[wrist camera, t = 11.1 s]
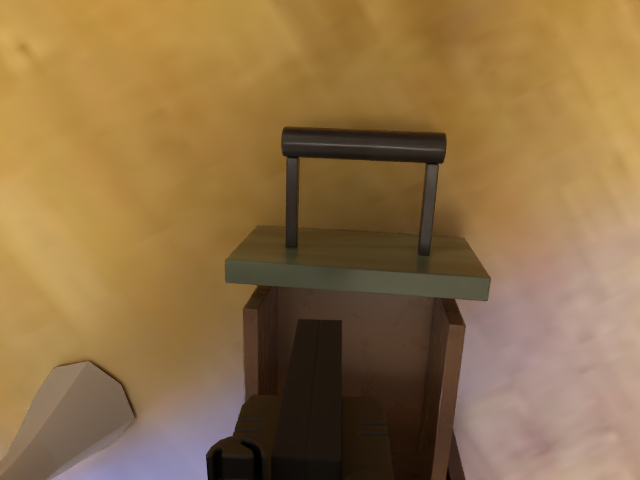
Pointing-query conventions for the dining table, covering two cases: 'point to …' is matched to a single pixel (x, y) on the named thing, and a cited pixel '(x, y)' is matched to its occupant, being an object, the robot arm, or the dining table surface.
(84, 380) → the flask
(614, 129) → the dining table surface
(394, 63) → the dining table surface
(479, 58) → the dining table surface
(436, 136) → the drawer
